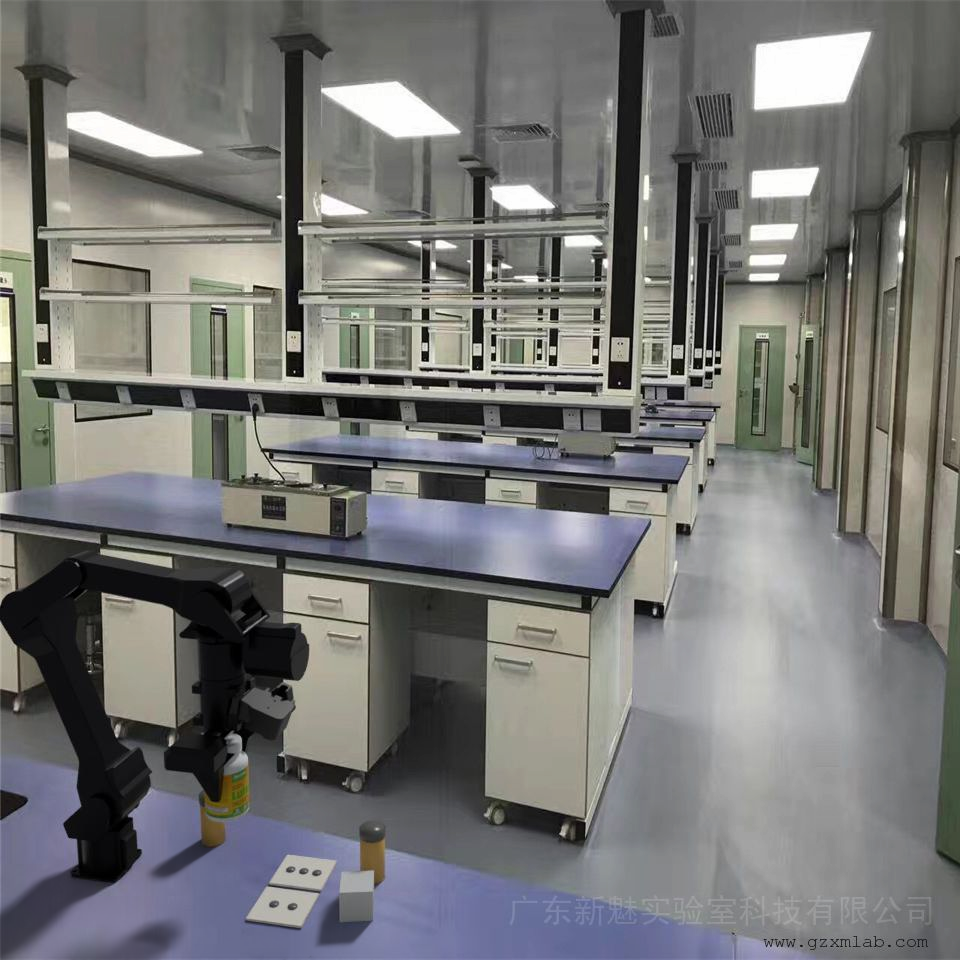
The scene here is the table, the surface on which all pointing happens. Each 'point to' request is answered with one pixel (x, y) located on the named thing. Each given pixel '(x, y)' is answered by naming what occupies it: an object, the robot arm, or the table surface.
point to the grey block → (356, 896)
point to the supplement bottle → (232, 786)
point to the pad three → (303, 873)
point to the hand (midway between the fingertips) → (226, 789)
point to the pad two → (283, 907)
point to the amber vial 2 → (373, 848)
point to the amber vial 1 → (210, 826)
